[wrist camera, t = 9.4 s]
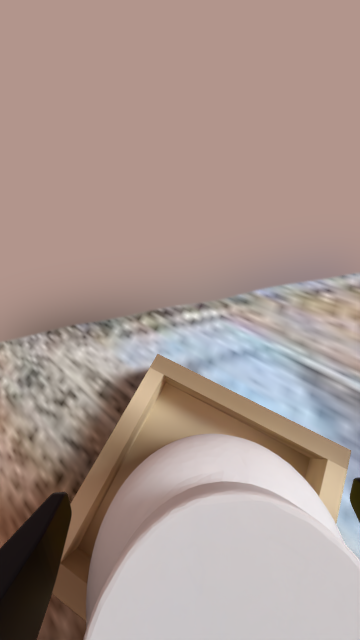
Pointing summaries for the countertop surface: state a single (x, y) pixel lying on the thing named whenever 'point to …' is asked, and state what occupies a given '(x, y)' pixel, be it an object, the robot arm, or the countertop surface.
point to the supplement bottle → (220, 551)
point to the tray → (173, 424)
